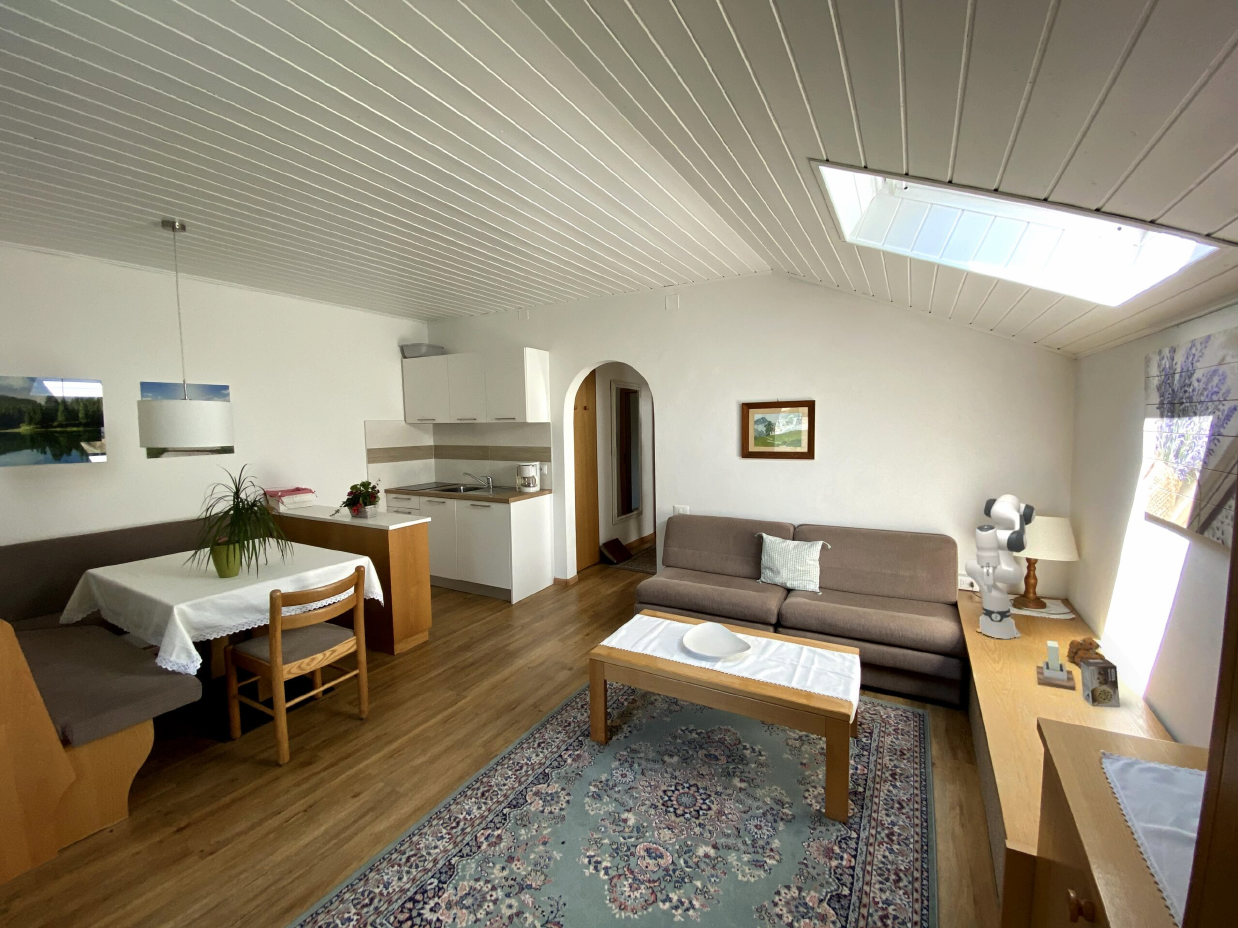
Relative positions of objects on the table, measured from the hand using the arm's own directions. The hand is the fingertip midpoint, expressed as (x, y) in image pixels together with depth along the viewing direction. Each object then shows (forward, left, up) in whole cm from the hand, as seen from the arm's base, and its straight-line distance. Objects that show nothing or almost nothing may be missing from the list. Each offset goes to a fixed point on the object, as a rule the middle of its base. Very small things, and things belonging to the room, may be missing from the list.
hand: (990, 589), depth 242 cm
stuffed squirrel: (-10, +32, -34) cm, 48 cm away
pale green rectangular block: (+10, +21, -33) cm, 40 cm away
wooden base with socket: (+10, +21, -34) cm, 41 cm away
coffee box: (+25, +34, -34) cm, 54 cm away
